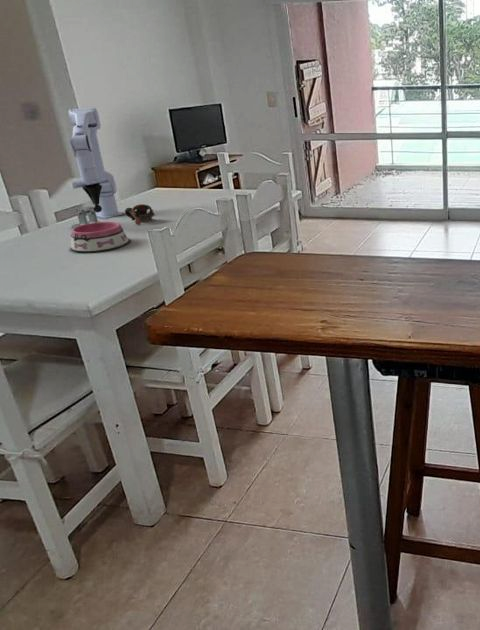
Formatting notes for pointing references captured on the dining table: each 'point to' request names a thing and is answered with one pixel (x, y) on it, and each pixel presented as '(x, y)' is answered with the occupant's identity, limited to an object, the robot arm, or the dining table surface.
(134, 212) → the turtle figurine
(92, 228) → the dog bowl
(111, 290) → the dining table surface
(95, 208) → the tap lever
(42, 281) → the dining table surface
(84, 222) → the tap bracket
